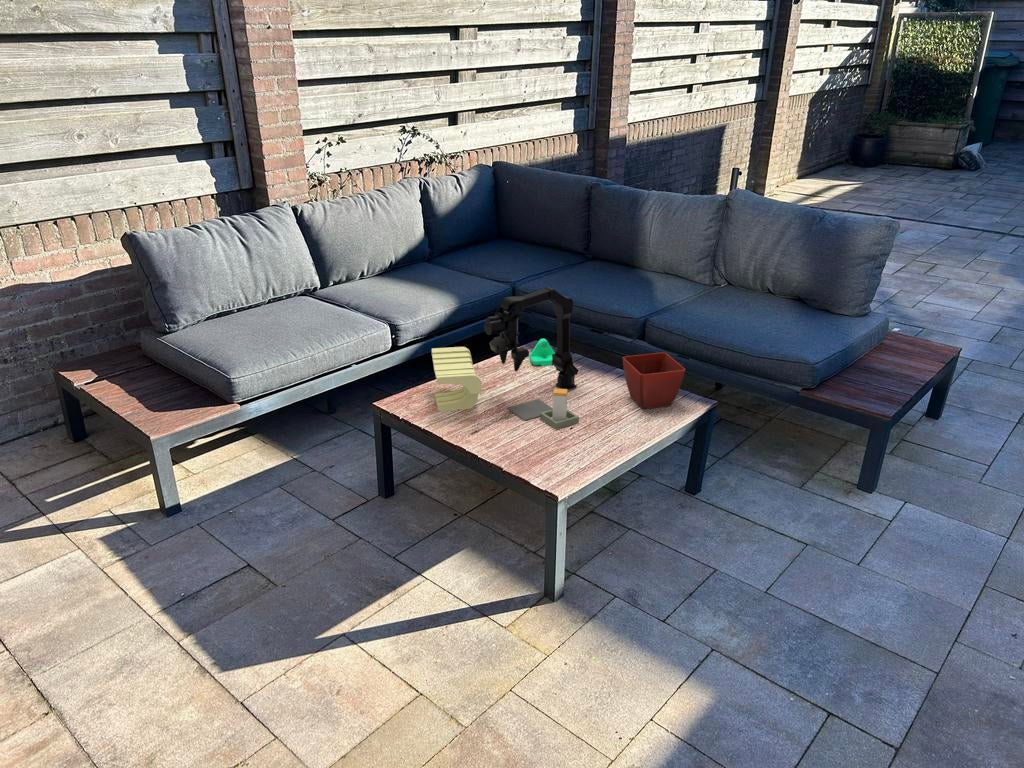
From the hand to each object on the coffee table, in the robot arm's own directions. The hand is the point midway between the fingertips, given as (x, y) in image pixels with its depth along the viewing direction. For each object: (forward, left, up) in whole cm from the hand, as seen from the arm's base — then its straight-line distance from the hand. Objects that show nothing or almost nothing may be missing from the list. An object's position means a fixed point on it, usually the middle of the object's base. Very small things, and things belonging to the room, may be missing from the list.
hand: (509, 367), depth 318 cm
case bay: (-7, +25, -15) cm, 30 cm away
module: (-7, +25, -15) cm, 30 cm away
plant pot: (-48, +30, -15) cm, 59 cm away
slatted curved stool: (+19, -10, -15) cm, 26 cm away
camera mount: (-35, -26, -15) cm, 46 cm away
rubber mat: (-3, +12, -15) cm, 19 cm away
